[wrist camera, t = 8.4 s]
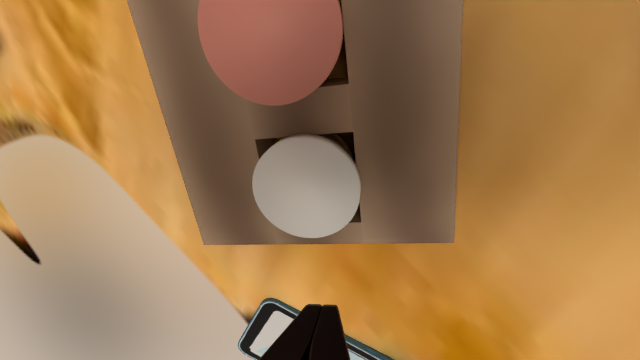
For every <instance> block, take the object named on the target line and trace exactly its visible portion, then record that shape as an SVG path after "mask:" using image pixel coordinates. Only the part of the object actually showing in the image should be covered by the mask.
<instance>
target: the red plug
mask: <svg viewBox="0 0 640 360" xmlns="http://www.w3.org/2000/svg"><path fill="white" fill-rule="evenodd" d="M198 31H199V37H200V42H201V45H202V48H203V51H204V54H205V56H206V58H207V61H208V62H209V64H210V66H211V68H212V69H213V71H214V72H215V74H216V75H217V76H218V78H219V79H220V80H221V81H222V82H223V83H224V84H225V85H226V86H227V87H228V88H229V89H230V90H232V91H233V92H234V93H236V94H237V95H239V96H241V97H243V98H244V99H246V100H249V101H251V102H254V103H258V104H262V105H270V106H278V105H285V104H290V103H293V102H296V101H298V100H301V99H303V98H305V97H306V96H308V95H309V94H311V93H312V92H313V91H314V90H316V89H317V88H318V87H319V86H320V85H321V84H322V83H323V82H324V81H325V80H326V79H327V77H328V76H329V75H330V73H331V72H332V70H333V68H334V66H335V64H336V62H337V60H338V57H339V54H340V51H341V46H342V40H343V18H342V11H341V7H340V4H339V0H199V6H198Z"/></svg>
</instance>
